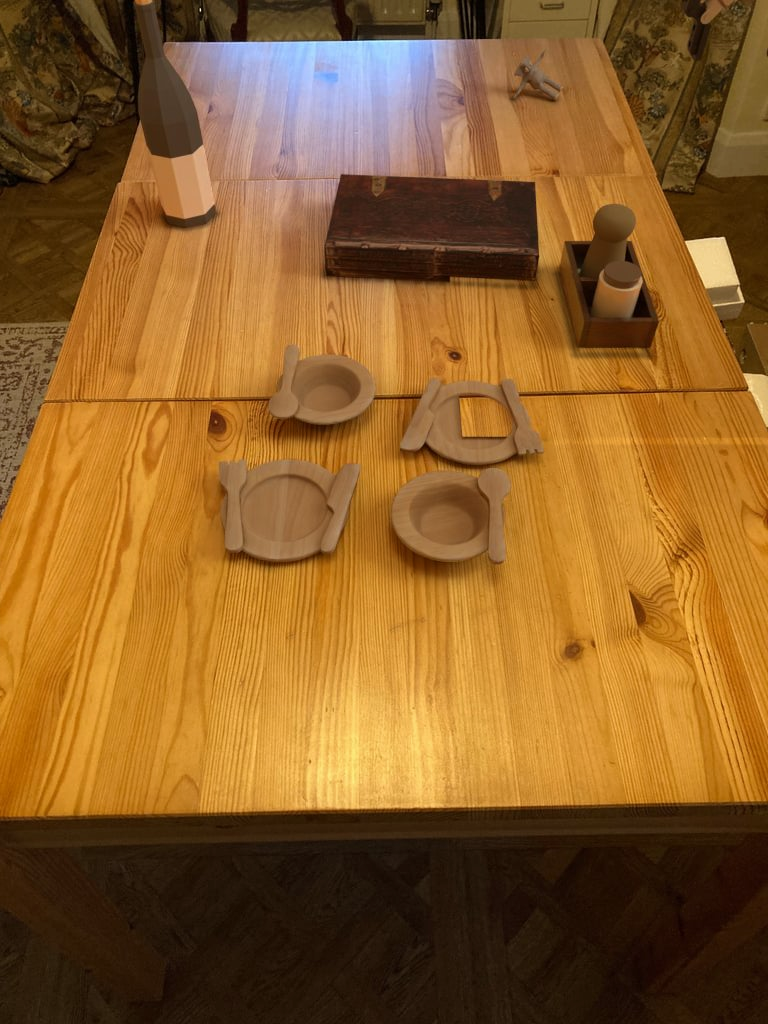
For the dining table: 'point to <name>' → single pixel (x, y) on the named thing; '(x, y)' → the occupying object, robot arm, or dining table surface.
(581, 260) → the box
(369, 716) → the dining table surface
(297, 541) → the tableware set
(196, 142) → the wine bottle
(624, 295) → the spice pot
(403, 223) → the hardback book
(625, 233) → the pepper mill
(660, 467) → the dining table surface
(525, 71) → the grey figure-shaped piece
